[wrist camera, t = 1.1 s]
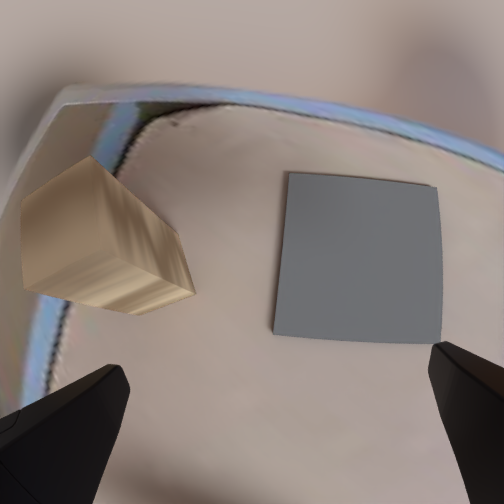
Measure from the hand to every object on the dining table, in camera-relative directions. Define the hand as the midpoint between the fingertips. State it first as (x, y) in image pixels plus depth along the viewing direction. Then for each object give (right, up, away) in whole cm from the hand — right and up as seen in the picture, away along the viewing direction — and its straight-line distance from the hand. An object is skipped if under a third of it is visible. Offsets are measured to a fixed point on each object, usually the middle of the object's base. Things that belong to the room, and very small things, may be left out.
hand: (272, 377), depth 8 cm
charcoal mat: (+8, +3, +14) cm, 16 cm away
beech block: (-8, +2, +16) cm, 18 cm away
